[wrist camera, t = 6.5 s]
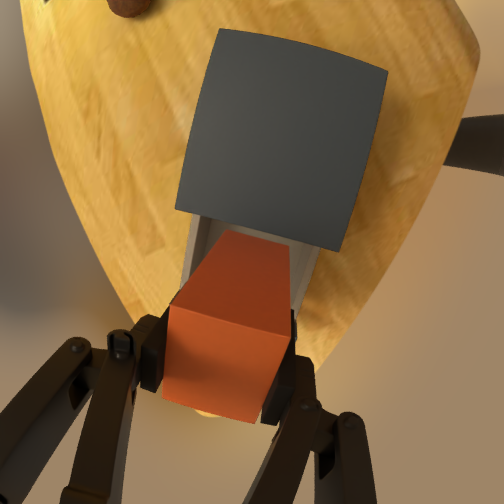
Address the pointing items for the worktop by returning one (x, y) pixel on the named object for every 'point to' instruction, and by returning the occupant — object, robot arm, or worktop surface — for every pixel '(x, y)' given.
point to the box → (230, 328)
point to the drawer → (210, 230)
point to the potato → (128, 7)
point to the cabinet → (281, 137)
